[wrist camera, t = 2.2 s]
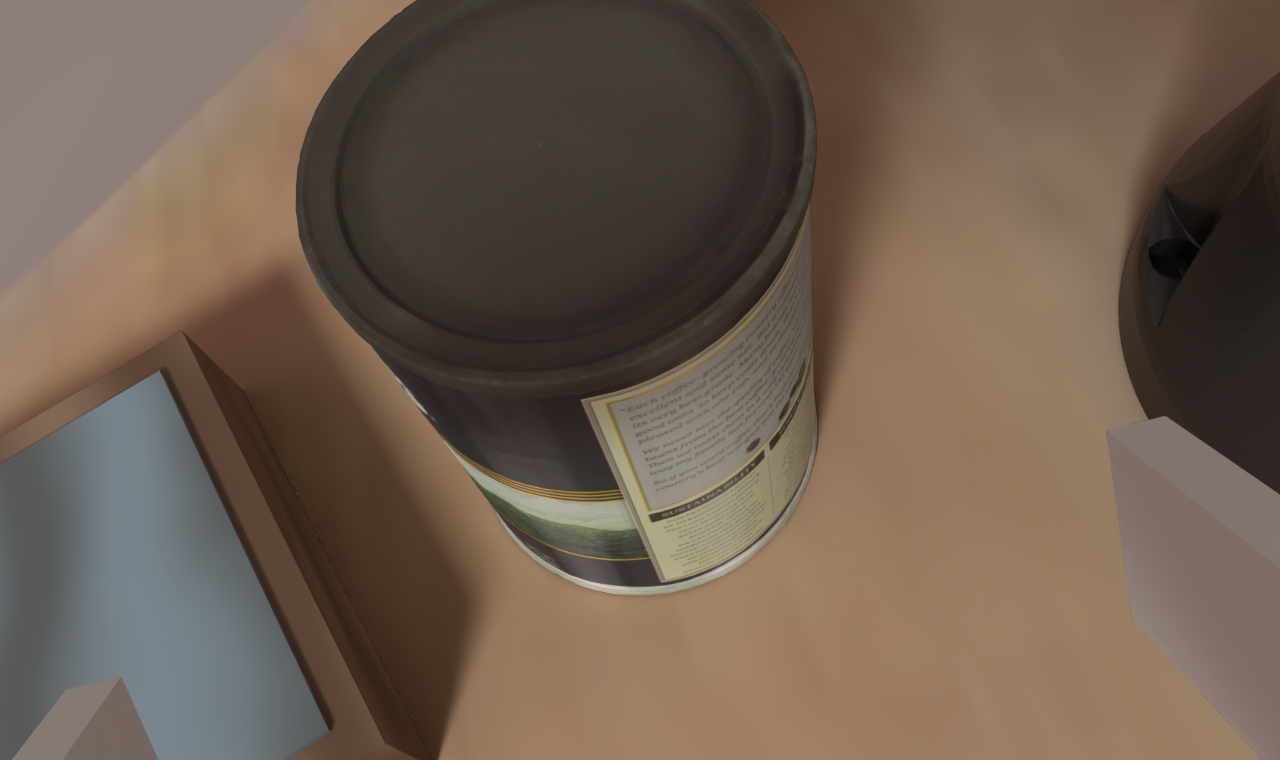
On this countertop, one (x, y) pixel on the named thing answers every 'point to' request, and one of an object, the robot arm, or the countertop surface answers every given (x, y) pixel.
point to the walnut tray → (180, 577)
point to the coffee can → (585, 266)
